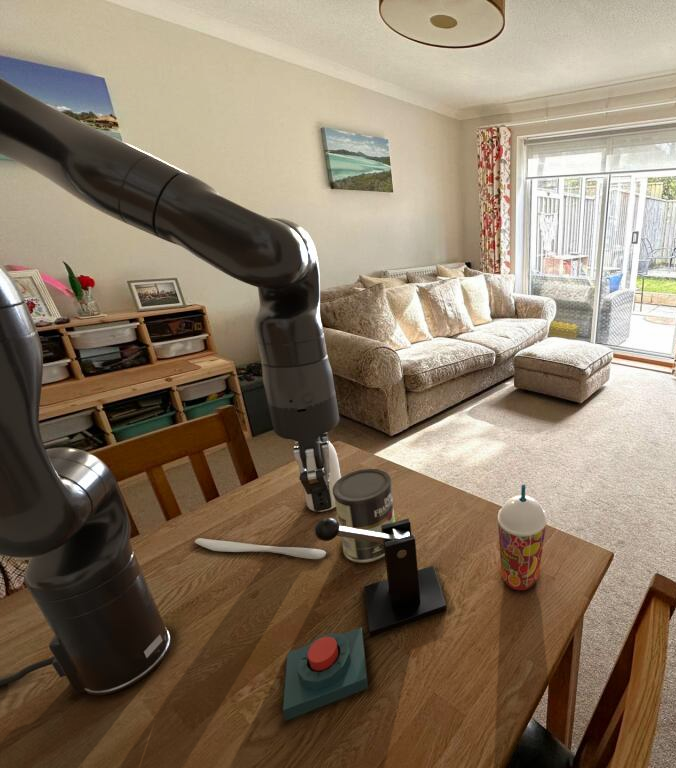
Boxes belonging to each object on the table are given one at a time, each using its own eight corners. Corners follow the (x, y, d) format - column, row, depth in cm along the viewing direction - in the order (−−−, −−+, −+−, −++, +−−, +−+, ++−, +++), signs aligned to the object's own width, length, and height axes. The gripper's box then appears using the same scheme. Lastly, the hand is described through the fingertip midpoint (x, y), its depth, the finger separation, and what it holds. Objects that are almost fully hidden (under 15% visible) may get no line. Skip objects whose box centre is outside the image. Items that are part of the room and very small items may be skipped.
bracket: (370, 637, 62) (359, 564, 56) (365, 591, 69) (354, 523, 64) (446, 611, 66) (443, 540, 61) (433, 570, 74) (429, 504, 69)
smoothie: (489, 569, 75) (489, 478, 67) (528, 554, 78) (532, 466, 71) (509, 604, 68) (512, 508, 60) (551, 586, 71) (559, 493, 64)
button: (309, 675, 53) (307, 666, 52) (310, 650, 56) (308, 642, 55) (338, 664, 54) (337, 656, 54) (337, 641, 57) (336, 632, 57)
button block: (285, 721, 51) (279, 701, 50) (290, 662, 58) (284, 643, 57) (368, 688, 55) (364, 669, 54) (363, 637, 62) (360, 618, 60)
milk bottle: (351, 498, 93) (339, 420, 85) (320, 517, 86) (305, 435, 79) (330, 487, 96) (317, 411, 89) (299, 504, 90) (283, 425, 83)
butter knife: (319, 561, 74) (327, 549, 77) (187, 546, 77) (200, 535, 80) (319, 564, 75) (328, 551, 77) (188, 549, 78) (201, 537, 80)
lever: (310, 544, 55) (320, 525, 55) (311, 529, 58) (320, 510, 58) (404, 557, 63) (413, 540, 62) (400, 543, 65) (409, 527, 65)
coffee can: (406, 529, 84) (400, 471, 79) (381, 567, 74) (373, 505, 69) (360, 521, 86) (352, 464, 80) (331, 557, 76) (319, 496, 71)
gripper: (272, 378, 54) (295, 486, 60) (259, 420, 43) (289, 547, 49) (333, 371, 57) (349, 475, 63) (336, 409, 45) (355, 531, 52)
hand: (323, 506), depth 56 cm, fingers closed
